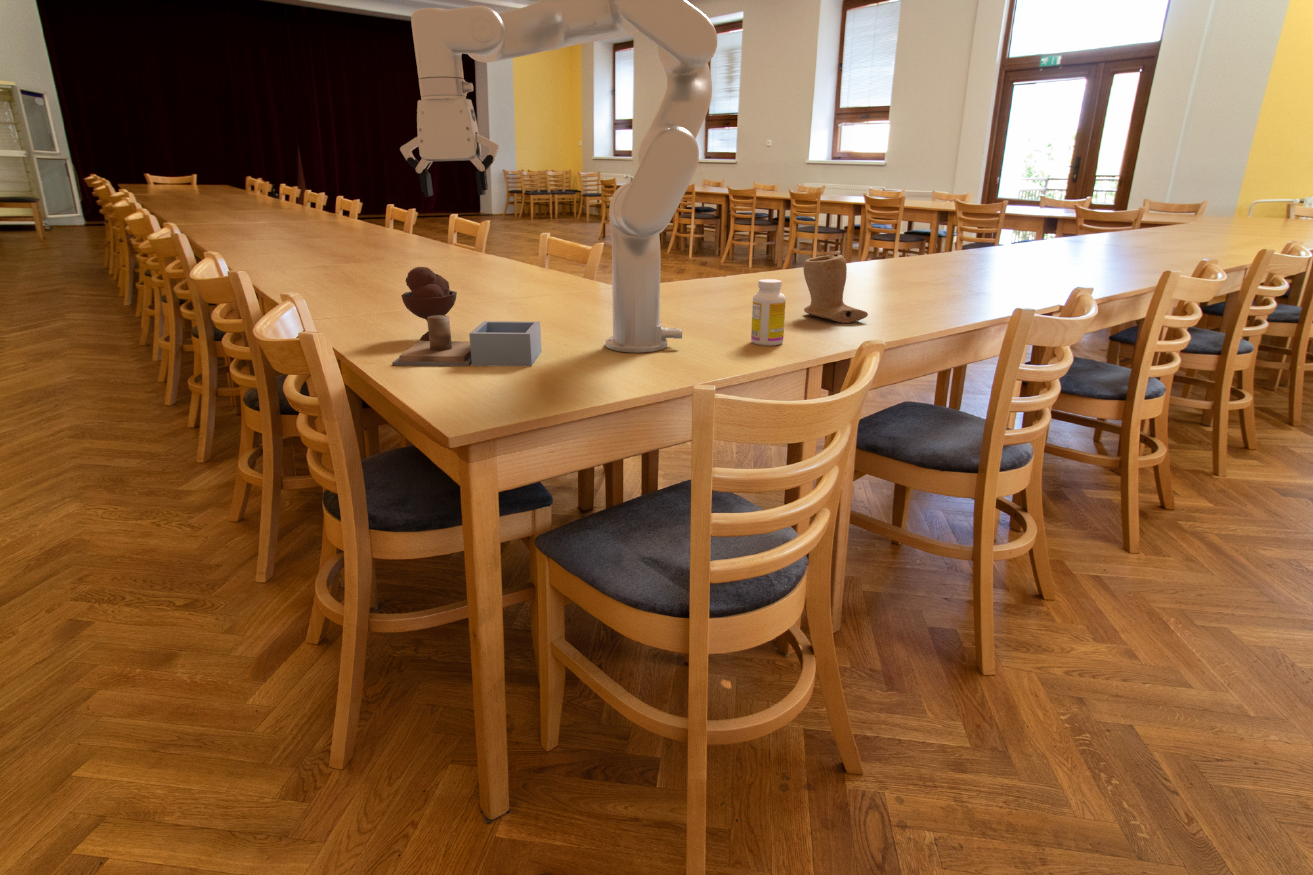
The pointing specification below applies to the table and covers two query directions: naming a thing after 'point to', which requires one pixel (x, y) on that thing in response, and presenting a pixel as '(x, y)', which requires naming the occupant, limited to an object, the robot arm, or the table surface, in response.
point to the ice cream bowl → (427, 295)
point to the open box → (505, 343)
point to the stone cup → (829, 289)
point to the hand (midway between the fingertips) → (455, 195)
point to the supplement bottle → (768, 313)
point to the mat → (430, 363)
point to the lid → (438, 344)
